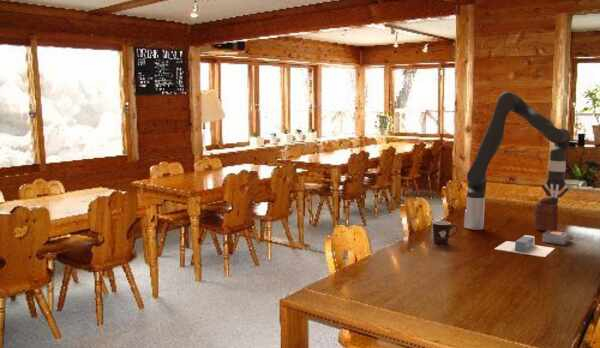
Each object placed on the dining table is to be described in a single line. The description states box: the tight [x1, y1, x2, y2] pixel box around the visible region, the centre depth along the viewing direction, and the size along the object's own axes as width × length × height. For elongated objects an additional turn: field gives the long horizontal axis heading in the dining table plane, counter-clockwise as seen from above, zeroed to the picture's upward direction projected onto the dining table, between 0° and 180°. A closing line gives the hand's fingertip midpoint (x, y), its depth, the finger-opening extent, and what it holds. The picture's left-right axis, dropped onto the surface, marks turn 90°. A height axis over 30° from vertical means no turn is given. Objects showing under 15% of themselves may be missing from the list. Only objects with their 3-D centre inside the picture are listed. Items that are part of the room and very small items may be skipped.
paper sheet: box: [494, 240, 556, 258], centre depth 254 cm, size 22×18×1 cm
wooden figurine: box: [534, 196, 559, 232], centre depth 290 cm, size 12×6×18 cm, turn 54°
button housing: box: [541, 230, 571, 246], centre depth 268 cm, size 10×10×4 cm
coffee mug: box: [431, 220, 459, 246], centre depth 264 cm, size 12×9×10 cm
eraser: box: [514, 234, 536, 252], centre depth 254 cm, size 4×15×4 cm, turn 142°
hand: (554, 205), depth 267 cm, fingers closed
